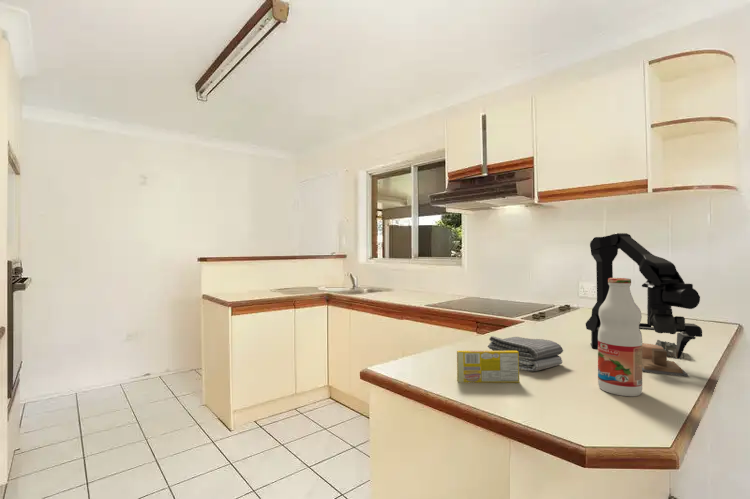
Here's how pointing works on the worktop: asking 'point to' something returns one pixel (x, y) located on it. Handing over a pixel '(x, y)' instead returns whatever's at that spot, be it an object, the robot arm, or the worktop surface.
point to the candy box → (488, 366)
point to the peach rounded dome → (648, 350)
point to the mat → (665, 372)
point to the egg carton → (668, 348)
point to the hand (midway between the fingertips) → (659, 356)
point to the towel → (530, 351)
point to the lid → (660, 362)
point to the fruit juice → (620, 341)
